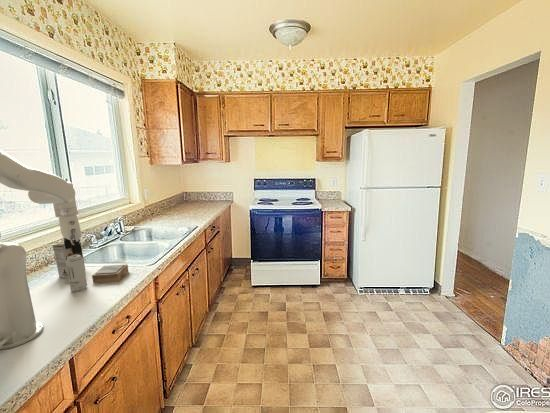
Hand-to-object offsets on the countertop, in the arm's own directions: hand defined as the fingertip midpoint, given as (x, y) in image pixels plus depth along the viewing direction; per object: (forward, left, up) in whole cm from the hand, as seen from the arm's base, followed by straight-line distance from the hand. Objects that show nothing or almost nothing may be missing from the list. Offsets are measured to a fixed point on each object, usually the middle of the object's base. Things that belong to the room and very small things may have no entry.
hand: (73, 250), depth 118 cm
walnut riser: (+9, -9, -18) cm, 22 cm away
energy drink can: (-1, 0, -18) cm, 18 cm away
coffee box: (+17, +13, -18) cm, 28 cm away
